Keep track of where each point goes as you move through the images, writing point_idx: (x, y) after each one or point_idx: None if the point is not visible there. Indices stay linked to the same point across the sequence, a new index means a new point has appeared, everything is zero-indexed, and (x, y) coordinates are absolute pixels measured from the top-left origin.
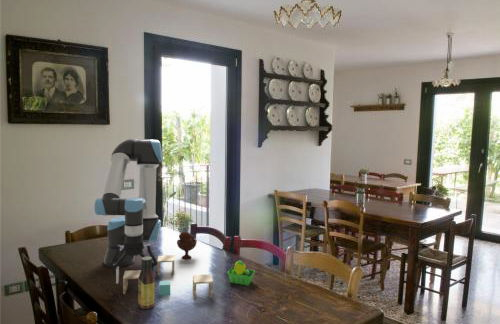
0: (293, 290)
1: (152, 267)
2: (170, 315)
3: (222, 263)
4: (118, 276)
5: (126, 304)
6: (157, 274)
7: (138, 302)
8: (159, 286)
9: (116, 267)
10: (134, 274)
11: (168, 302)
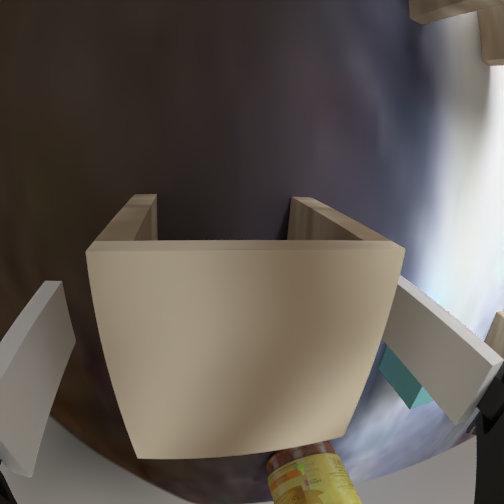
0: None
1: (475, 424)
2: (360, 474)
3: None
4: (47, 350)
5: None
6: (416, 17)
7: (268, 484)
8: (406, 403)
9: (8, 487)
10: (263, 403)
11: (388, 418)
